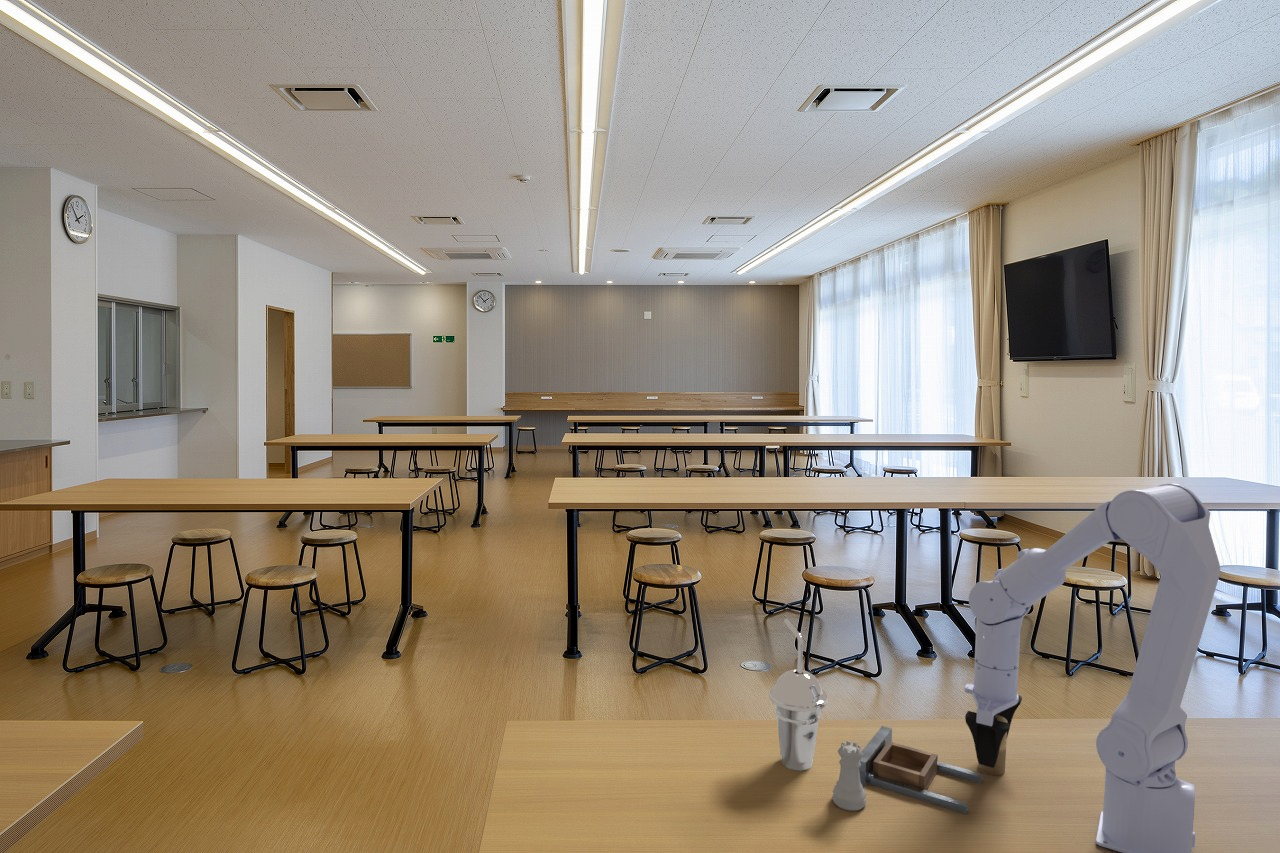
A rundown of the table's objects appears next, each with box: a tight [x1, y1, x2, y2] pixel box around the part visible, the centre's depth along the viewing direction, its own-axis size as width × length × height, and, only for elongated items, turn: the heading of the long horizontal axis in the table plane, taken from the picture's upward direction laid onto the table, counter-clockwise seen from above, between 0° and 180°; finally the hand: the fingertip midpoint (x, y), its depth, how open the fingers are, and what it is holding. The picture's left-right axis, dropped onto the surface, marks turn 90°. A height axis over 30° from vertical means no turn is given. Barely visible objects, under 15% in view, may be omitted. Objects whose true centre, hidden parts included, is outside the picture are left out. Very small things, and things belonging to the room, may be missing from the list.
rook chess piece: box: [831, 740, 867, 812], centre depth 105 cm, size 4×4×8 cm
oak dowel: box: [977, 715, 1008, 776], centre depth 114 cm, size 4×4×8 cm
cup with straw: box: [768, 618, 829, 771], centre depth 115 cm, size 8×9×20 cm
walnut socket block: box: [873, 741, 939, 791], centre depth 112 cm, size 7×7×3 cm
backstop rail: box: [859, 725, 983, 815], centre depth 111 cm, size 14×12×4 cm
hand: (992, 753), depth 114 cm, fingers open, 7 cm apart
